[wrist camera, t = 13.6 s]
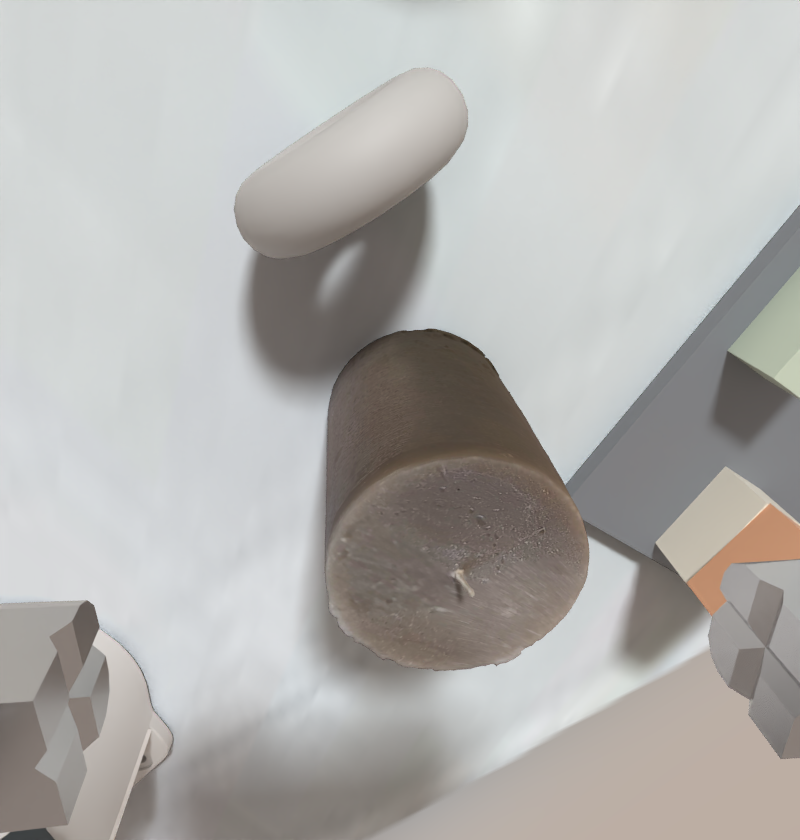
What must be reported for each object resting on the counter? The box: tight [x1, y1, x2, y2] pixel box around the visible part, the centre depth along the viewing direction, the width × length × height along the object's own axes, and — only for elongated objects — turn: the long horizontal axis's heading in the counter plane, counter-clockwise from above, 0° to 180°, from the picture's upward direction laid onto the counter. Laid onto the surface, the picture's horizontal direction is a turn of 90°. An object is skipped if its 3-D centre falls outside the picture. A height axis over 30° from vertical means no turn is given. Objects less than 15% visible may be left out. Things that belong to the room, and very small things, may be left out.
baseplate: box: [565, 205, 800, 575], centre depth 38 cm, size 20×16×1 cm
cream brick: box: [655, 466, 800, 585], centre depth 38 cm, size 6×3×4 cm, turn 146°
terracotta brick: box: [687, 503, 800, 616], centre depth 34 cm, size 6×3×4 cm, turn 143°
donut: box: [234, 67, 468, 259], centre depth 26 cm, size 10×4×10 cm, turn 121°
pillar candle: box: [325, 329, 589, 671], centre depth 30 cm, size 10×10×15 cm
